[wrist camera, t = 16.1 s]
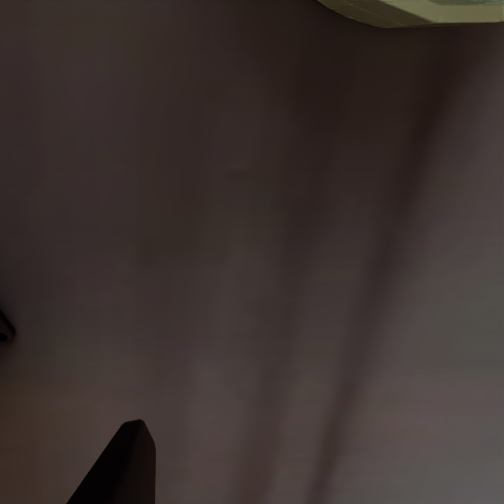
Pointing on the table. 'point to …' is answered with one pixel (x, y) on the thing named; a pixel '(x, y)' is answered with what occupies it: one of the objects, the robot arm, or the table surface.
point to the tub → (418, 12)
